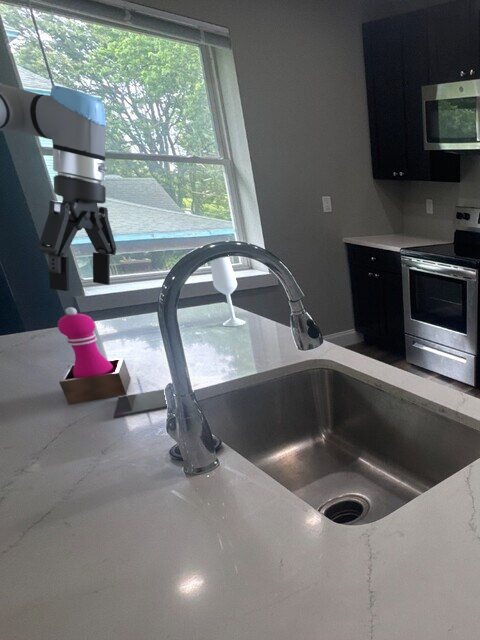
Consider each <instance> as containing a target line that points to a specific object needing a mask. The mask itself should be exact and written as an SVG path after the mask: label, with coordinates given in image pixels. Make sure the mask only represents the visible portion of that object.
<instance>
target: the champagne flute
mask: <svg viewBox="0 0 480 640" xmlns="http://www.w3.org/2000/svg"><path fill="white" fill-rule="evenodd" d="M209 262H210V261H209ZM210 270H211V276H212V284H213V288H214V289H215V290H217V291H218V292H219V293H221V294H222V295H225V297H226V301H227V307H228V310H229V316H230V318H229V319H228V320H226V321H225V322H223V324H222V326H224V327H238V326H241V325H242V326H243V325H244V324H246V320H243V319H240V318H239V317H236V315H235V310H234V306H233V302H232V297H231V294H233V293H234V291H235V290H236V289H237V287H238V281H237V278H236V274H235V271H234V268H233V266H232V263H231V259H230V256H229V257H225V258H219V259H217V260H215V261H212V262H210Z"/></svg>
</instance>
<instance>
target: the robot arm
mask: <svg viewBox="0 0 480 640" xmlns="http://www.w3.org/2000/svg"><path fill="white" fill-rule="evenodd" d="M106 128H107V123H106V112H105V105H104V103H103V101H102V100H101V99H99V98H97V97H96V96H93V95H91V94H89V93H85V92H82V91H79V90H77V89H72V88H70V87H66V86H60V85H52V87H51V88H50V93H49V95H48V94H41V93H37V92H33V91H29V90H25V89H23V88H19V87H14V86H11V85H7V84H4V83H1V82H0V131H1V132H14V133H20V134H25V135H29V136H33V137H38V138H39V137H40V138H43V139H46V140H51V141H52V161H53V162H52V170H53V171H54V172H57V174H54V175H53V192H54V194H55V195H57V196H59V197H62V201H58V200H50V201H49V207H48V214H47V218H46V220H45V224H44V227H43V230H42V234H41V236H40V240H39V243H38V247H37V249H38V251H39V252H40V253H41V254H44V255H48V276H49V278H48V279H49V289H51V290H56V291H63V292H70V260H69V259H70V258H69V256H66V254H67V252H68V251H69V249H70V246H71V245H72V242H73V241H74V239H75V237H76V235H77V233H78V232H79V231H81V230H83V229H84V231H85V233H86V235H87V236H88V239H89V240H90V243H91V244H92V247H93V248H94V250H95V251H93V252H92V283H94V284H101V285H106V286H110V285H111V284H110V283H111V282H110V281H111V280H110V279H111V275H110V273H111V271H110V270H111V269H110V265H111V263H110V262H111V261H110V258H111V257H110V255H111V256H115V255H116V253H117V244H116V241H115V238H114V234H113V229H112V228H111V227H112V226H111V223H110V220H109V210H108V208H107V207H106V206H100V205H98V204H101V205H103V204H105V203H106V201H107V200H106V199H107V198H106V197H107V194H106V193H107V192H106V188H107V187H106V186H105V185H104V184H102V182H103V183H104V182H105V181H106V171H108V167H107V166H106Z"/></svg>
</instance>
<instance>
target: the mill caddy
mask: <svg viewBox="0 0 480 640" xmlns="http://www.w3.org/2000/svg"><path fill="white" fill-rule="evenodd" d="M107 360H108V361H109V362H110V363H111V364H112V366H113V367H114V369H115V373H108V374H101V375H94V376H87V377H81V378H74V375H73V368H74V364H69V365H67V367H66V369H65V371H64V372H63V374H62V376H61V378H60V380H59V381H58V382H59V385H60V388H61V390H62V392H63V395H64V398H65V399H66V402H67V405H73V404H79V403H85V402H86V403H87V402H90V401H96V400H97V401H98V400H102V399H110V398H115V397H121V396H127V394H128V390H129V386H130V382H131V375H130V372H129V370H128V367H127V364H126V361H125V358H124V357H121V358H113V359H112V358H111V359H107Z"/></svg>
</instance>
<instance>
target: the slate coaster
mask: <svg viewBox="0 0 480 640" xmlns="http://www.w3.org/2000/svg"><path fill="white" fill-rule="evenodd" d="M164 389H165V388H164ZM164 389H158V390H151V391H145V392H140V393H133V394H128V395H127V394H126V395H122V396H118V397H117V402H116V405H115V409H114V413H113V418H114V419H117V418H123V417H128V416H129V417H130V416H134V415H138V414H144V413H149V412H155V411H161V410H166V409H168V408H167V404H166V400H165V395H164Z"/></svg>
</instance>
